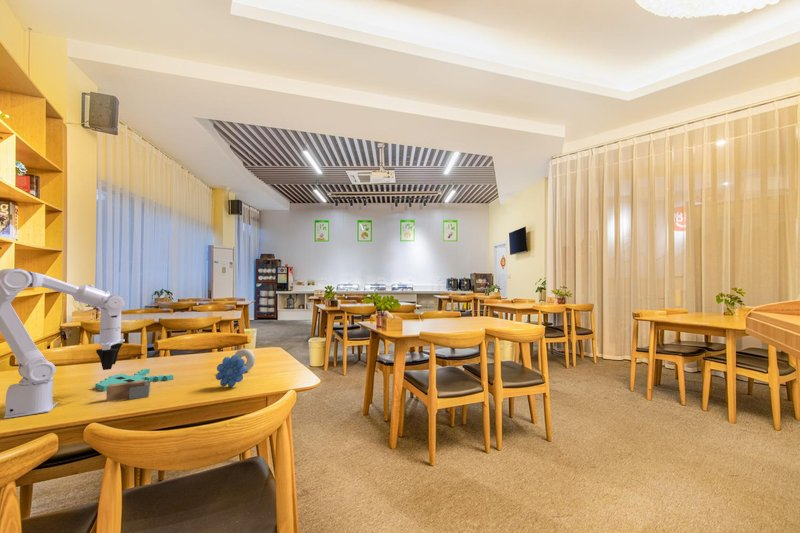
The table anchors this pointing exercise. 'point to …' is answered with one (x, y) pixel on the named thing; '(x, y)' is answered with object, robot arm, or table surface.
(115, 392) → the slat
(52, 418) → the table surface
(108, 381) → the alien figure
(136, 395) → the end cap
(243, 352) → the donut
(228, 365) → the blue bumpy cluster
